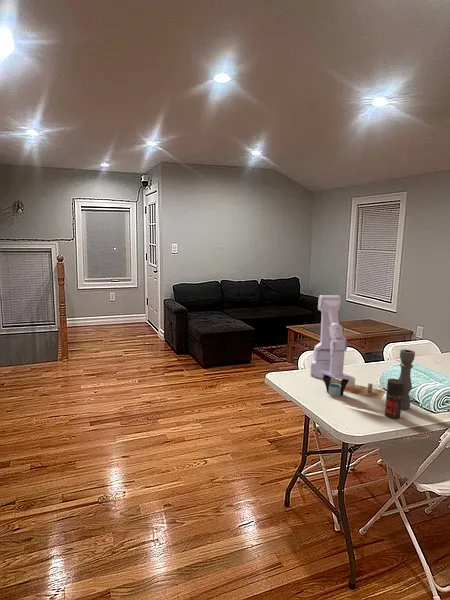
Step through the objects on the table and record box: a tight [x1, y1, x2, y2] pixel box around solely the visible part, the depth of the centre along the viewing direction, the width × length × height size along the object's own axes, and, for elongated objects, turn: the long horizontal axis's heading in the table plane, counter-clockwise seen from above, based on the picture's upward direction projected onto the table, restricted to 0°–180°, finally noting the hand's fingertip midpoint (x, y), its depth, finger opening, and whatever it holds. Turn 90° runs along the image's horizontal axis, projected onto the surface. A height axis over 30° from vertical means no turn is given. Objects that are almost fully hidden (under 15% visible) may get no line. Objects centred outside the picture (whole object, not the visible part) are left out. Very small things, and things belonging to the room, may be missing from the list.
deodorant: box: [384, 378, 404, 420], centre depth 167 cm, size 6×6×15 cm
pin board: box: [336, 381, 386, 400], centre depth 192 cm, size 22×12×5 cm, turn 59°
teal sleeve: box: [327, 383, 342, 397], centre depth 187 cm, size 6×6×5 cm
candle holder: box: [397, 349, 416, 411], centre depth 175 cm, size 6×6×25 cm
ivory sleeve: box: [345, 375, 356, 390], centre depth 194 cm, size 6×6×5 cm
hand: (334, 393), depth 187 cm, fingers closed on teal sleeve, 6 cm apart
